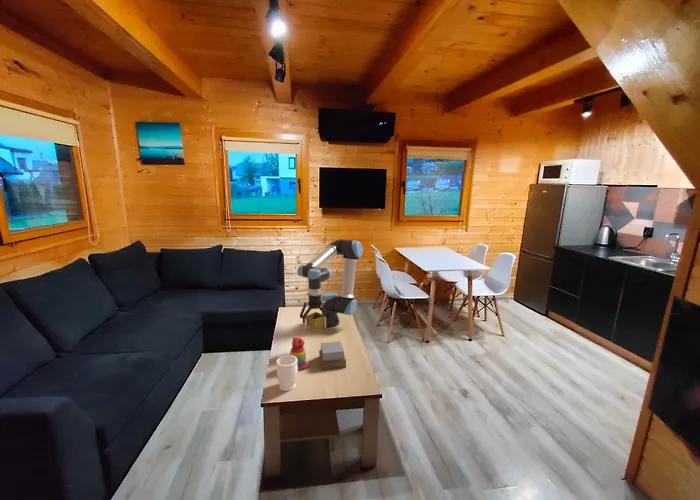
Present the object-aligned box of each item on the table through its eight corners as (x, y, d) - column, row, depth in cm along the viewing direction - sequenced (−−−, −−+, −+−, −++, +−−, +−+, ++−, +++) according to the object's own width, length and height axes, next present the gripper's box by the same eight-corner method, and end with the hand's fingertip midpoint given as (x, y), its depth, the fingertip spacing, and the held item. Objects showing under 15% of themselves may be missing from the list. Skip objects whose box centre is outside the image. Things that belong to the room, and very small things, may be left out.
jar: (279, 394, 156) (278, 367, 153) (275, 382, 165) (274, 357, 162) (300, 389, 160) (299, 363, 157) (295, 378, 169) (294, 353, 166)
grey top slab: (320, 350, 189) (320, 343, 188) (340, 348, 192) (340, 341, 191) (323, 361, 178) (323, 353, 177) (344, 359, 180) (344, 351, 179)
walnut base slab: (319, 357, 191) (319, 350, 190) (341, 355, 194) (342, 348, 193) (321, 370, 177) (321, 362, 176) (345, 368, 180) (346, 360, 179)
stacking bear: (311, 366, 181) (311, 337, 177) (297, 374, 173) (297, 344, 170) (299, 359, 188) (298, 332, 184) (285, 366, 180) (284, 338, 176)
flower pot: (305, 329, 195) (305, 315, 193) (316, 324, 201) (315, 311, 199) (314, 333, 189) (314, 319, 187) (325, 328, 195) (325, 315, 193)
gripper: (295, 297, 184) (296, 331, 189) (335, 295, 188) (335, 328, 193) (294, 293, 191) (295, 325, 196) (333, 290, 196) (333, 322, 200)
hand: (315, 327), depth 194 cm, fingers closed on flower pot, 12 cm apart
